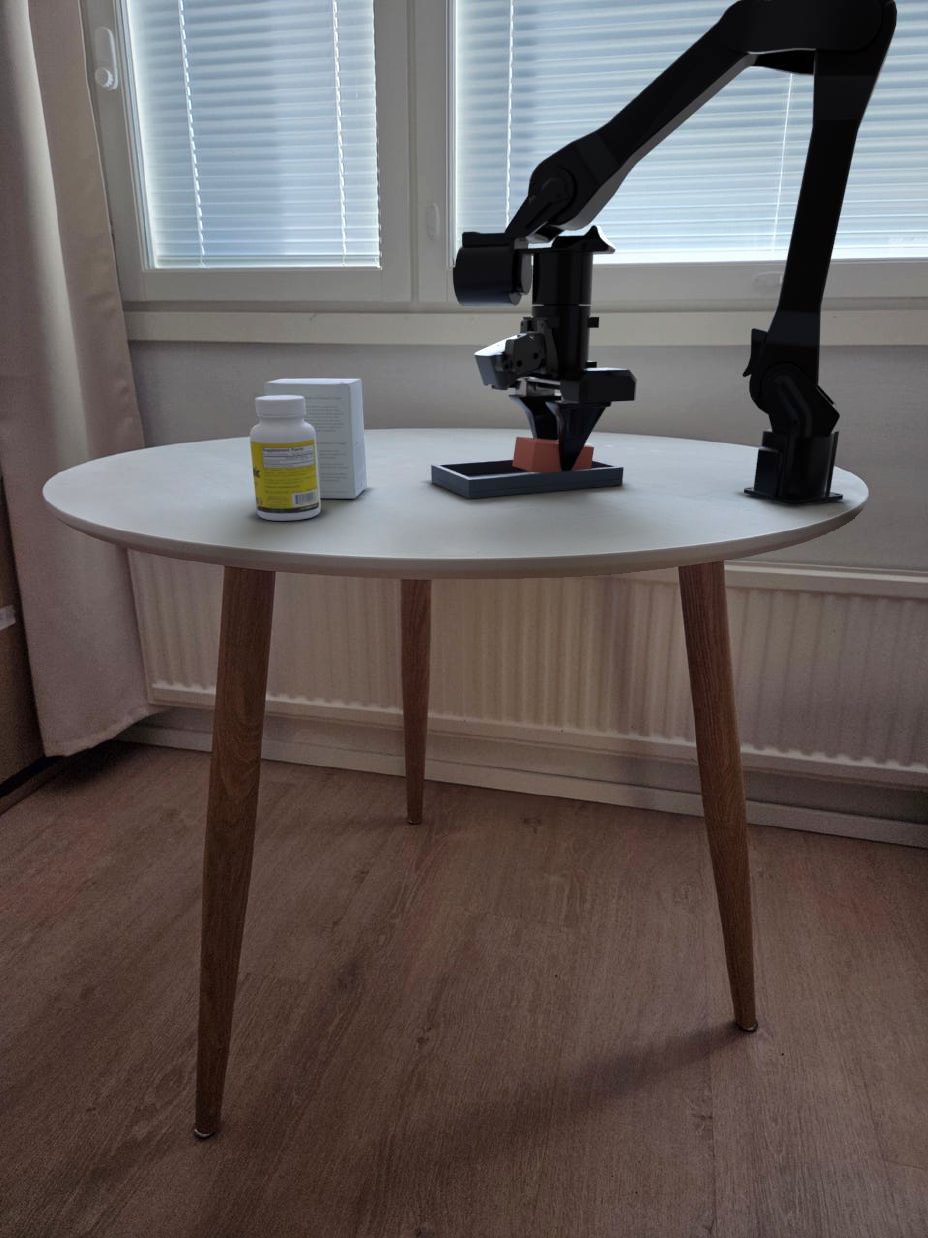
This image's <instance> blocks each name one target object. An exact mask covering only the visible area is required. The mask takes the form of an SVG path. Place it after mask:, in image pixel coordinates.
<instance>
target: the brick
mask: <svg viewBox="0 0 928 1238" xmlns="http://www.w3.org/2000/svg"><path fill="white" fill-rule="evenodd" d="M514 443H515V444H514V449H513V450H514V451H513V456H512V457H513V458H512V459H513V464H512V466H514V467H517V468H520V469H523V470H526V471H529V472H537V473H544V472H557V471H562V470H561V465H560V457H559V447H558V441H557V440H546V439H536V438H533V437H524V436H516V437H515V442H514ZM594 450H595V446H592V445H588V444H585V445H584V447H583V449H582V451H581V453H580V455H579V457H578V459H577V460H576V462H575V464H574V466H573V468H572V470H582V469H591V464H592V459H594Z"/></svg>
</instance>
